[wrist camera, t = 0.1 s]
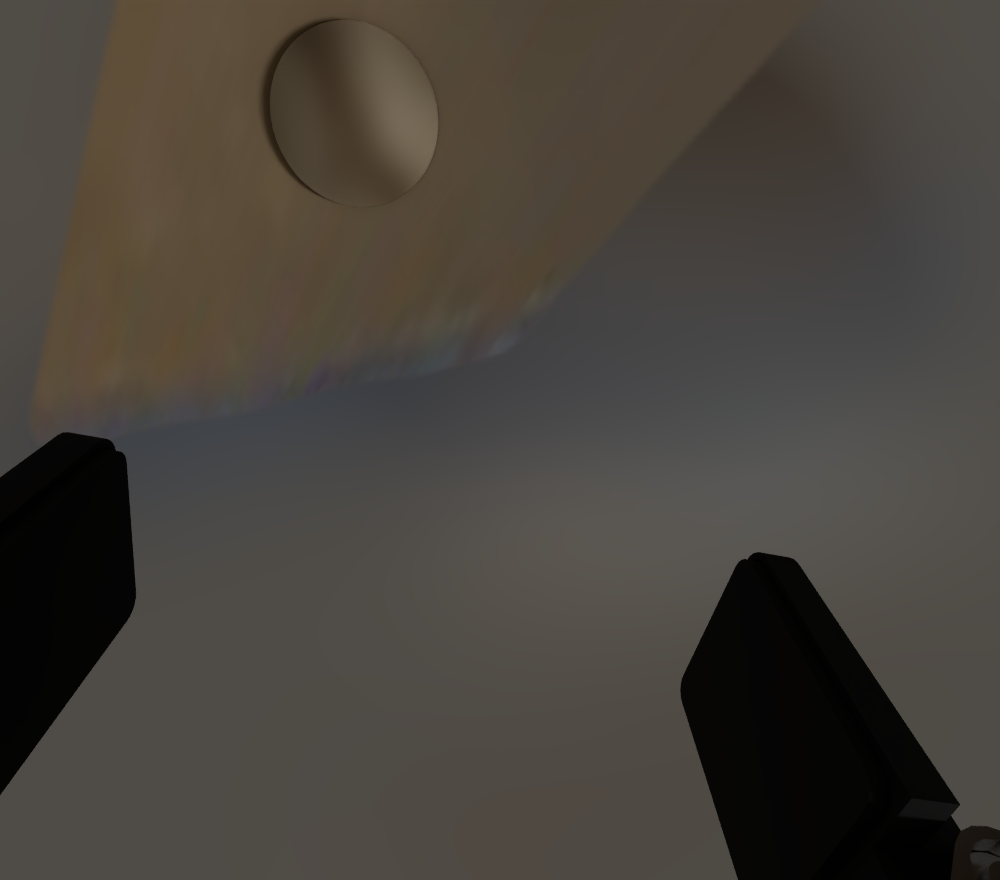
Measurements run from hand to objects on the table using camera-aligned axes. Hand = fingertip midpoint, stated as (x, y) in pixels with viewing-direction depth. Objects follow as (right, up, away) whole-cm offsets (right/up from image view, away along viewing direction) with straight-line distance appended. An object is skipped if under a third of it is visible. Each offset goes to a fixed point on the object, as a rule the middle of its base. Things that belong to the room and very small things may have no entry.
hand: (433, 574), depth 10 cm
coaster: (-7, +20, +25) cm, 32 cm away
